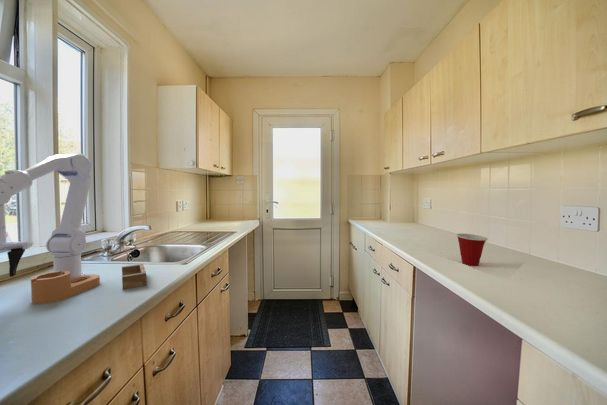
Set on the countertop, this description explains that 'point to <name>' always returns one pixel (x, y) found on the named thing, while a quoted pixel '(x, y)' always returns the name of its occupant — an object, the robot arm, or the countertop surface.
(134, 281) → the jig
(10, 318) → the countertop surface
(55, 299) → the bracket
